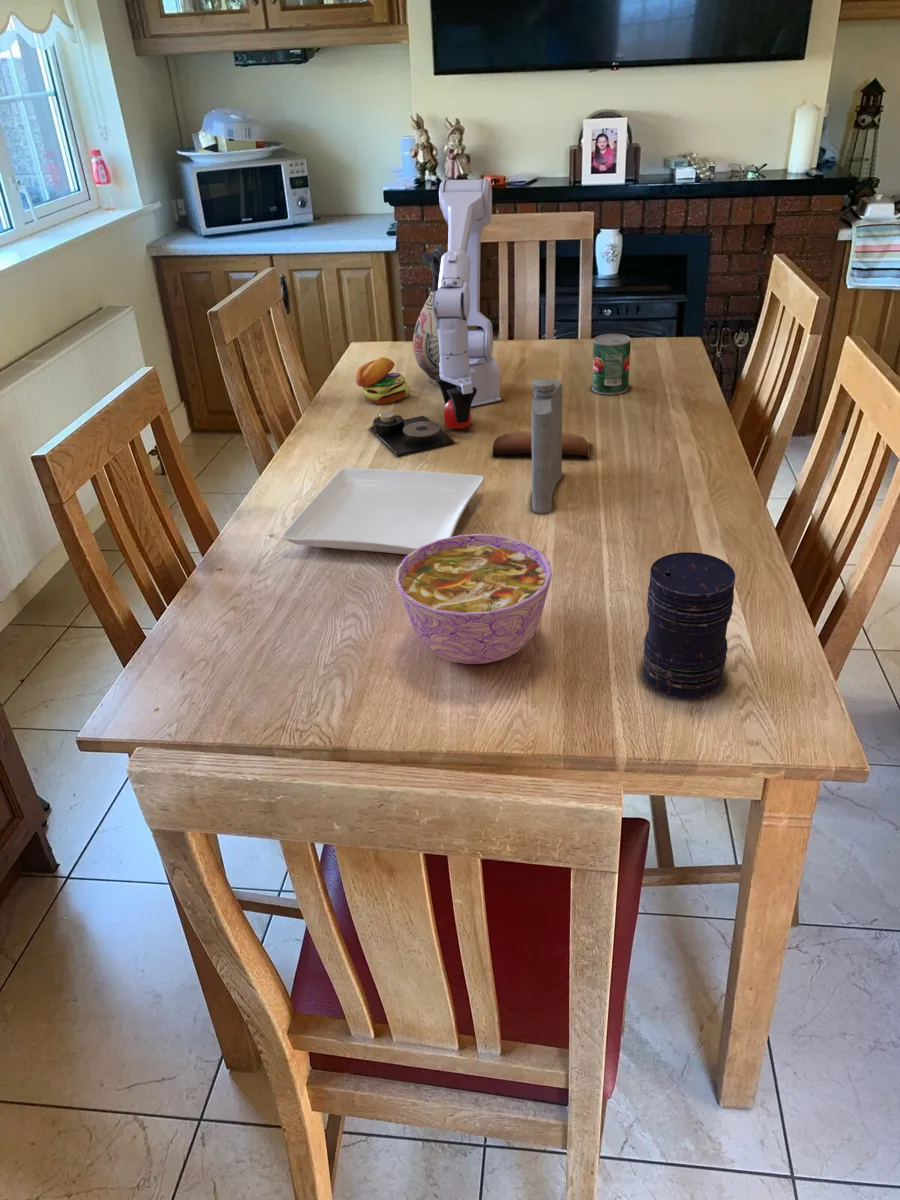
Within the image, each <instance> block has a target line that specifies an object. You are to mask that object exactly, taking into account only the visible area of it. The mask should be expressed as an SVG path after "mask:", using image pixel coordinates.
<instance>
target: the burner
mask: <svg viewBox="0 0 900 1200" xmlns="http://www.w3.org/2000/svg"><path fill="white" fill-rule="evenodd" d="M429 421H430V420H429ZM429 421H421V422H414V423H411V424H408V425H406V426H405V427H404V428H403V433H404V434H405V435H407V436H411V437H427V436H432V435H435V434H437V433H438V432H439V431H440V430H441V429H442V427H441V425H440V424H439V423H437V422H434V421H430V422H429ZM441 431H442V430H441Z"/></svg>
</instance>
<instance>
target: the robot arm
mask: <svg viewBox="0 0 900 1200" xmlns="http://www.w3.org/2000/svg"><path fill="white" fill-rule="evenodd" d="M492 190H493V189H492V182H491V181H490V180H489V178H488V177H485V178H482V179H481V178H476V179H442V180H441V182H440V183H439V188H438V198H439V200H438V202H439V209H440V210H441V213H442V216H443V218H444V220H445V222H446V225H447V226H448V227H447V228H448V232H447V234H448V238H447V252H446V253H445V254H444V255H443V256H442V258H441V265H440V274H439V283H438V291H434V293H433V301H432V305H433V314H434V318H435V325H436V329H438V339H439V354H440V363H439V371H440V378H436V382H437V384H438V385H437V386H438V388H439V390H440V393H441V395H442V398H443V402H444V406H445V405H446V403H447V402H448V401H449V400H450V399H451V400H452V403H453V406H454V411H455V417H456V420H457V422H458V423H463V422H468V418H469V413H470V409H471V408H472V407H477V406H482V405H487V404H491V403H496V402H500V401H502V397H501V388H500V385H501V383H500V368H499V364H498V362H497V360H496V358H495V357H494V356H493V355H494V354H493V353H494V333H493V323H492V321H491V320H490V319H489V318H488V317H486V316H485V315H484V314H483V313H482V312H481V311H480V307H481V304H480V303H481V301H480V300H481V242H482V241H481V239H482V234H483V229H484V228H485V227H487V226H489V225H491V221H492V216H493V215H492V214H493V212H492V211H493V191H492ZM467 327H477V329H468V328H467ZM479 327H480V328H479Z"/></svg>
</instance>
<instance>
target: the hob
mask: <svg viewBox="0 0 900 1200" xmlns="http://www.w3.org/2000/svg"><path fill="white" fill-rule="evenodd" d="M421 421H429V422H431V420H429V419H428V418H427V417H426V416H424V415H420V416H414V417H411V418H406V419H404V418H403V417H402V416H401V415H399V414H396V422H394V423H391V424H383V423H380V415H379V416H377V417H376V418H374V419H373V420H372V426H369V430H370V432H371V433H373V434H374V435H375V436H376V437H377V438H378V439H379V441H381V442H382V443H383V444H384V445H385V447H387V448H388V449H389V450H390V451H391V452H392V454H394V455H395V456H396V457H403V456H407V455H411V454H417V453H420V452H425V451H428V450H433V449H438V448H442V447H447V446H450V445H455V441H454V439H452V438H450V436H448V435H447V434H446V433H445V432H444V431H442V430H440V431H439V432H438V433H437V434H435V435H432V436H427V437H411V436H407V435H405V434H404V433H403V428H404V427H405V426H406V425H408V424H411V423H414V422H421Z"/></svg>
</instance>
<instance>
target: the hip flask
mask: <svg viewBox="0 0 900 1200" xmlns="http://www.w3.org/2000/svg"><path fill="white" fill-rule="evenodd" d="M531 383H532V386H531V387H532V389H533V397H532V400H531V405H530V408H531V409H530V411H531V412H530V413H531V415H530V417H531V418H530V419H531V420H530V421H531V431H532V453H531V489H532V490H531V495H532V496H531V499H532V501H531V502H532V506H531V507H532V511H533V512H534V513H537V514H548V513H550V512H551V511H552V509H553V506H552V503H553V500H552V499H553V494H554V490H555V489H556V486H557V485H558V483H559V481H560V480H561V479H562V475H563V474H562V473H563V472H562V471H563V470H562V469H563V466H562V465H563V463H562V462H563V454H562V432H563V382H562V381H561V380H558V379H550V378H538V379H535V380H533V381H532V382H531Z"/></svg>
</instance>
